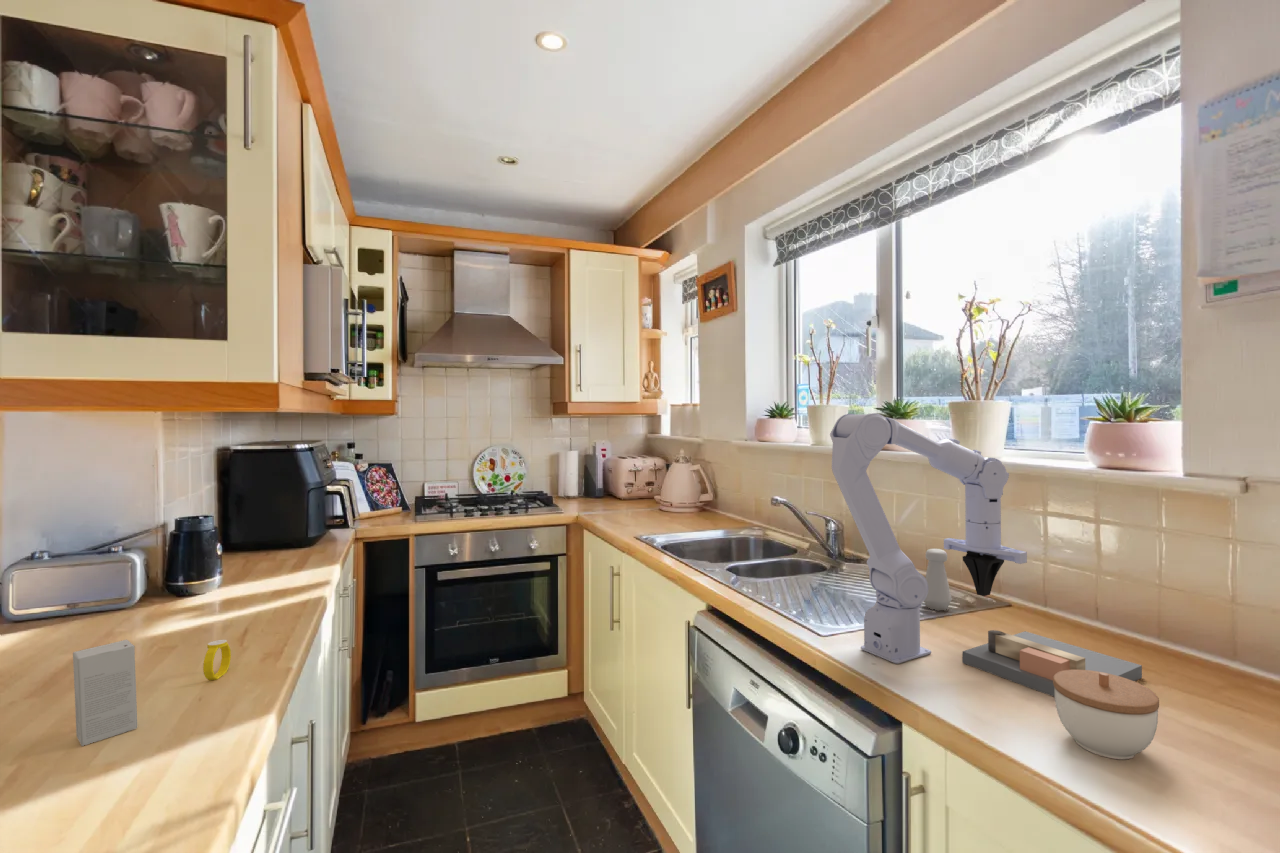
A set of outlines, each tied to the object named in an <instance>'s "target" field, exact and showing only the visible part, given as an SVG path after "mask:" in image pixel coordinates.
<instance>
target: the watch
mask: <svg viewBox="0 0 1280 853" xmlns="http://www.w3.org/2000/svg"><path fill="white" fill-rule="evenodd" d="M206 645H207V651H206V653H205V654H204V655H205V656H204V659H203V665H202V668H203V669H202V671H203V674H204V677H205V679H207V680H208V681H217V680H218V679H220V678H221V677H222V676H224V675H225V674H227V673H228V670H229V667H230V664H231V659H232V652H231V647H230V644H229V643H228V640H227V639H218V640H214V641H210V642H208V643H207V644H206ZM218 649H219V650H220V651H221V660H220V666H219V668H218V671H216V673H215V672H214V662H215V661H214V660H215V658H216V657H215V656H216V654H217V651H218Z"/></svg>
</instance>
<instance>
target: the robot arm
mask: <svg viewBox="0 0 1280 853" xmlns="http://www.w3.org/2000/svg"><path fill="white" fill-rule="evenodd" d="M829 436H830V439H831V440H832V449H831V450H832V452H831V453H832V454H831V455H832V456H831V471H832V474H833V476H834V478H835V480H836V483H837V485H838V488H839V489H840V491H841V494H842V496H843V498H844V501H845V503H846V505H847V508H848V511H849V512H850V514H851V517H852V519H853V521H854V522H855V525H856V528H857V530H858V533H859V534H860V536H861V539H862V541H863V544H864V545H865V548H866V550H867V552H868V554H869V557H868V559H867V560H866V565H867V567H868V571H869V572H868V573H869V575H868V576H869V577H868V578H869V583H870V586H871V588H873V590H875V597H876V601H875V604H874V605H873V606H871V607H869V608H868V609H867V610H866V611H865V613H864V617H863V640H864V641H863V644H864V645H861V646H860V649H861V650H862V651H864V652H867V653H870V654H871V655H874V656H876V657H879V658H882V659H883V660H886V661H888V662H891V663H893V664H901V663H905V662H908V661H910V660H914V659H917V658H922V657H923V656H927V655H930V654H932V650H931V649H929V648H925V647H923V646H921V614H920V613H921V612H920V611H921V608H922V604H923V603H924V600H925V599H926V597H927V594H928V583H927V580H926V579H925V577H926V576H924V575H923V574H922V573H920V571H918V570H917V568H916V566H915V564H914V563H913V561H912V560H911V559H910V558H909V556H907V555H906V553H904V551H902V549H901V548H900V545H899V543H898V541H897V538H896V536H895V533H894V532H893V529H892V527H891V525H890V522H889V520H888V518H887V516H886V513H885V511H884V509H883V506H882V505H881V502H880V499H879V497H878V495H877V493H876V491H875V489H874V486H873V484H872V481H871V479H870V477H869V475H868V472H867V469H868V468H869V465H870V463H871V462H872V461H873V460H874V458H875V457H876V456H877V455H878V454H879V453H880V452H881V451H882V450H883V449H884V448H885V446H886V445H895V446H899V447H901V448H904V449H906V450H908V451H911V452H913V453H916V454H919V455H921V456H923V457H926V458H927V459H928V462H929V465H930V466H931V467H932V468H934V469H936V470H938V471H941V472H943V473H945V474H947V475H949V476H952V477H954V478H956V479H958V481H959V482H960V483H961V484H962V485H964V486H965V487H964V493H965V494H964V496H965V497H964V498H965V499H964V504H965V515H964V516H965V519H964V520H965V539H961V538H960V539H959V538H958V539H957V538H951V537H947V538H944V539H943V550H948V551H949V550H952V551H958V552H961V553H962V552H963V553H966V554H965V555H963V556H962V561H963V563H964V564H965V566H966V568H967V570H968V571H969V573H970V576H971V578H972V581H973V585H974V587H975V592H976V596H977V595H978V596H982V597H987V596H989V595H991V593H992V588H993V584H994V582H995V579H996V576H997V574H998V572H999V571H1000V569H1001V568H1002V566H1003V564H1005V561H1008V562H1013V563H1014V564H1018V565H1023V564H1026V563H1028V552H1027V551H1023V550H1019V549H1016V548H1013V547H1010V546H1009V547H1007V546H1005V545H1002V502H1001V501H1002V496H1003V495H1004V487H1005V486H1006V484H1007V483H1008V480H1009V478H1010V477H1009V476H1010V473H1009V472H1007V469H1006V466H1005V465H1004V464H1003V462H1002V461H1001V460H1000V459H998V458H995V457H987V456H986V457H985V456H983V454H982V451H980V450H978V449H972V450H971V449H970V448H967V447H965V446H964V445H961V444H960V443H961V441H960V440H959V439H956V438H949V439H947V438H943V439H940V440H938V441H936V440H934V439H932V438H930V437H929V436H926V435H924V434H923V433H921V432H919V431H917V430H915V429H913V428H911V427H909V426H908V425H905V424H903V423H901V422H899V421H898V420H896V419H894V418H892V417H887V416H884V415H882V414H880V413H876V412H871V413H864V414H860V413H859V414H855V413H846V414H843V415H841V416H840V417H839V418H838V419H837V420H836V421H835V423H834V426H833V428H832V429H831V431H830V434H829Z"/></svg>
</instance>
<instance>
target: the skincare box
mask: <svg viewBox="0 0 1280 853" xmlns="http://www.w3.org/2000/svg"><path fill="white" fill-rule="evenodd" d="M135 648H136V647H135V645H134V644H133V643H132V642H130V640H128V639H123V640H119V641H115V642H111V643H108V644H107V643H106V644H103V645H97V646H93V647H90V648H85V649H82V650H80V649H79V650H78V651H77V650H76V651H73V653H72V661H73V662H72V664H73V665H72V667H73V684H74V687H73V688H74V706H75V707H74V708H75V710H74V711H75V733H76V734H75V735H76V738H77V740H78V743H79V744H80V746H81V747H84V745H85V746H88V745H90V743H91V744H93V742H94V743H96V742H97V743H98V742H100V741H103V740H105V739H106V740H107V739H109V738H111V737H115V736H117V735H121V734H123V733H127V732H130V731H134V730H136V729H137V728H138V710H137V708H138V706H137V677H136V659H135V658H136V657H135V653H136V652H135Z"/></svg>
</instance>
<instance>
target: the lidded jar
mask: <svg viewBox="0 0 1280 853" xmlns="http://www.w3.org/2000/svg"><path fill="white" fill-rule="evenodd" d="M1053 685H1054V696H1055V697H1054V703H1055V709H1056V712H1057V716H1058V718H1059V720H1060V722H1061V724H1062V726H1063V727H1064V729H1065V730H1066V732H1067V733H1068V734H1069V735H1071V737H1072V738H1073V739H1074V742H1076V744H1077V745H1078V746H1079V747H1081V748H1082V749H1084V750H1085V751H1087V752H1089V753H1092V754H1094V755H1097V756H1100V757H1104V758H1107V759H1113V760H1122V761H1123V760H1130V759H1134V758H1135V755H1137V754H1138V753H1141V752H1143V751H1144V750H1146V749H1147V748H1148V747H1149V746H1150V745H1151V744H1152V743H1153V740H1154V738H1155V735H1156V732H1157V728H1158V722H1159V708H1160V698H1159V696H1158V695H1157V694H1156V693H1155V692H1154V690H1152V689H1151V688H1149V687H1147V686H1145V685H1143V684H1141V683H1139V682H1137V681H1132V680H1129V679H1126V678H1123V677H1120V676H1116V675H1112V674H1108V673H1104V672H1098V671H1091V670H1064V671H1060V672H1058V673H1056V674H1055V675H1054V676H1053Z"/></svg>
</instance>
